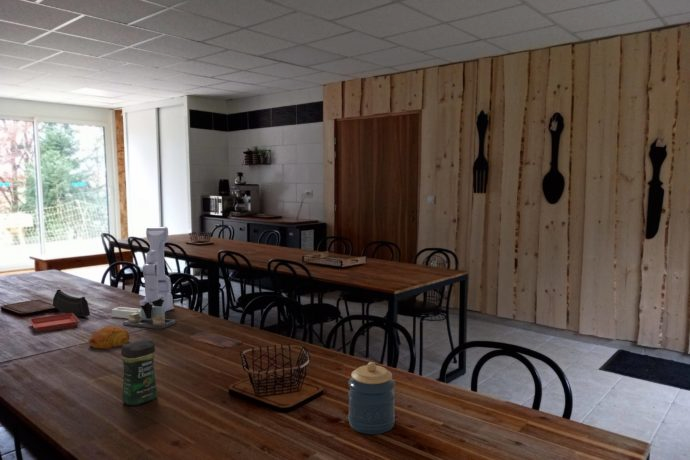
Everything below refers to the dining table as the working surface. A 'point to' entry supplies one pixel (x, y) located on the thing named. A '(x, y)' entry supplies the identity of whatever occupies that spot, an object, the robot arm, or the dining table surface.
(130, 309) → the holder
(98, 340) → the croissant
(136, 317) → the birch offcut stack
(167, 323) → the rack
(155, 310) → the chamfered blue-grey beam
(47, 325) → the plant saucer
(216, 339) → the wooden tablet
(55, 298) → the magazine
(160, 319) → the birch offcut
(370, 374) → the canister
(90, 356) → the dining table surface
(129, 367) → the coffee jar
